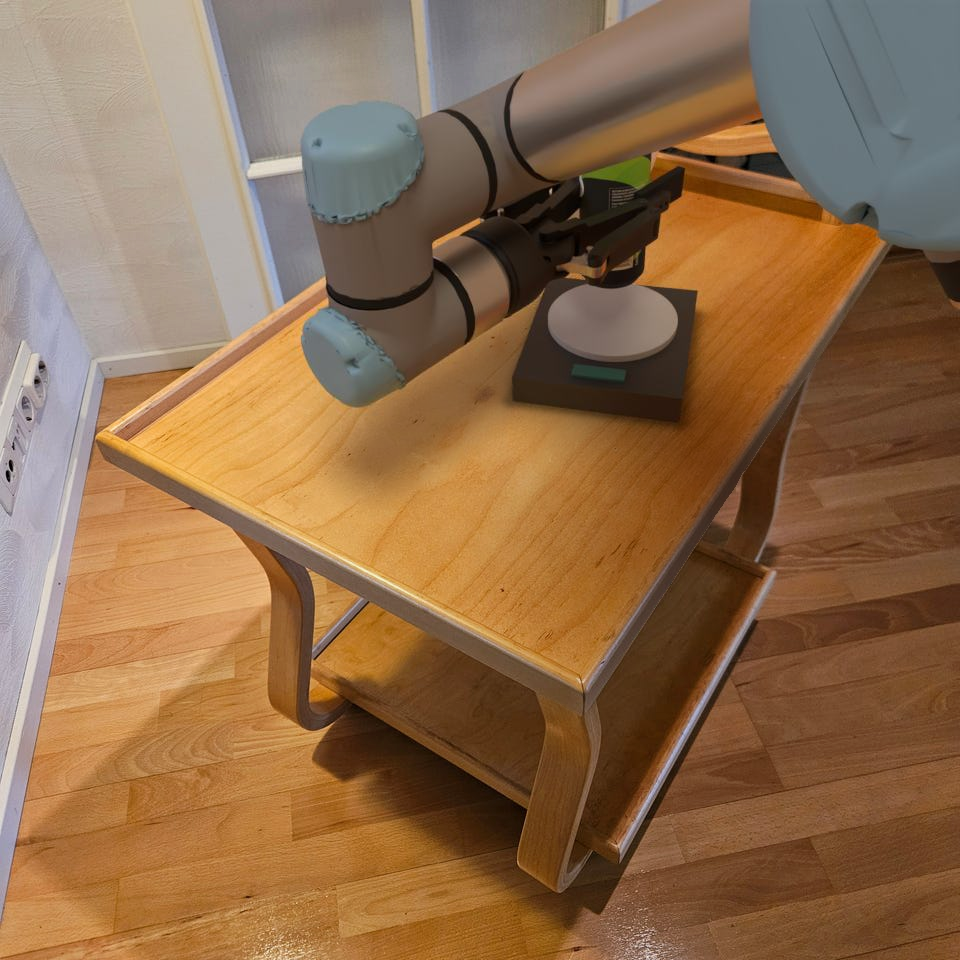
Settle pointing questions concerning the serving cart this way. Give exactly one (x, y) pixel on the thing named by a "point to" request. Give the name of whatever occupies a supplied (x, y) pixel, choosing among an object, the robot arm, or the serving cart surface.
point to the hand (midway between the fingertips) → (656, 173)
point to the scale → (608, 350)
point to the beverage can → (610, 192)
